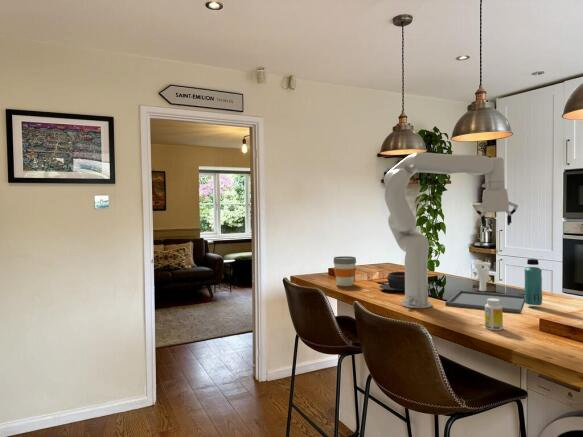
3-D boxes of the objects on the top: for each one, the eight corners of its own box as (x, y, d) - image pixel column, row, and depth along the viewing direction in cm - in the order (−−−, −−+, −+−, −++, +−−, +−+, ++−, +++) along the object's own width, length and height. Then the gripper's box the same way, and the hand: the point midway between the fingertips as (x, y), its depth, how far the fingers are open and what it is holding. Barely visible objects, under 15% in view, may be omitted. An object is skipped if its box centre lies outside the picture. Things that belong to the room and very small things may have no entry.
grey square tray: (519, 313, 163) (519, 309, 163) (445, 305, 179) (445, 302, 179) (524, 299, 187) (524, 295, 187) (458, 293, 202) (458, 290, 202)
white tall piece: (479, 288, 212) (478, 259, 212) (493, 290, 207) (492, 260, 206) (472, 290, 208) (472, 260, 207) (486, 292, 202) (486, 261, 202)
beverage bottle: (533, 309, 169) (533, 260, 168) (520, 305, 175) (520, 258, 175) (546, 308, 171) (546, 259, 170) (532, 304, 177) (532, 257, 176)
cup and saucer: (416, 285, 225) (416, 269, 224) (435, 292, 206) (435, 275, 206) (373, 288, 219) (373, 272, 219) (388, 295, 201) (388, 278, 201)
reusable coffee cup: (344, 281, 240) (344, 255, 239) (361, 284, 230) (360, 257, 230) (329, 284, 232) (328, 257, 231) (345, 287, 222) (345, 259, 222)
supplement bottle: (504, 328, 145) (504, 299, 145) (499, 332, 141) (499, 302, 141) (487, 325, 149) (487, 297, 148) (482, 329, 145) (482, 299, 144)
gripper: (472, 187, 182) (473, 226, 183) (517, 184, 173) (518, 225, 174) (474, 187, 189) (476, 224, 189) (517, 184, 180) (519, 224, 180)
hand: (496, 225), depth 182 cm, fingers open, 9 cm apart
